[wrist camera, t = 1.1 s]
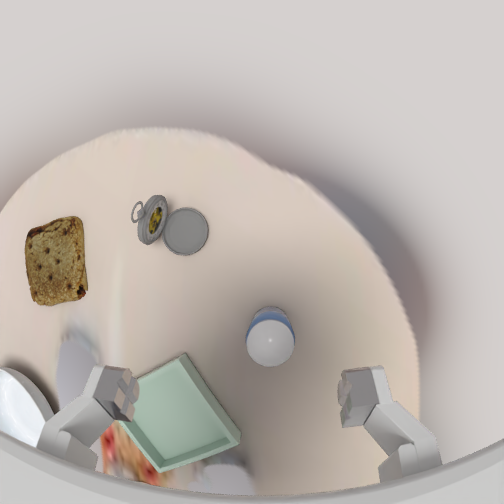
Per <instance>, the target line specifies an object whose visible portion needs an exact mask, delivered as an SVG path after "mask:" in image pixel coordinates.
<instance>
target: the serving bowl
mask: <svg viewBox="0 0 504 504" xmlns="http://www.w3.org/2000/svg"><path fill="white" fill-rule="evenodd" d="M53 416H54V413H53V411H52V409H51V407H50V405H49V403H48V402H47V400H46V398H45V397H44V395H43V394H42V393H41V391H40V390H39V389H38V388H37V386H36V385H35V384H34V383H33V382H32V381H31V380H30V379H28V378H27V377H26V376H24V375H23V374H22V373H20V372H18V371H16V370H14V369H11V368H7V367H0V430H1V431H3V432H5V433H7V434H9V435H10V436H12V437H14V438H16V439H18V440H20V441H22V442H24V443H26V444H28V445H31V446H33V447H35V448H36V446H37V443H38V440H39V437H40V434H41V432H42V429H43V426H44V424H45V423H46V422H47V421H48V420H49V419H51V418H52V417H53Z"/></svg>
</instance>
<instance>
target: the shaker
mask: <svg viewBox="0 0 504 504" xmlns="http://www.w3.org/2000/svg"><path fill="white" fill-rule="evenodd" d="M294 345H295V336H294V332H293V330H292V327H291V325H290V322H289V320H288V317H287V315H286V314H285V313H284V312H283V311H282V310H281V309H279V308H277V307H265V308H262V309H260V310H259V311H258V312H257V313H256V314H255V316H254V318H253V320H252V322H251V325H250V327H249V330H248V332H247V335H246V346H247V351H248V353H249V355H250V357H251V358H252V359H253V360H254V361H255V362H256V363H258V364H260V365H262V366H267V367H274V366H278V365H280V364H282V363H284V362H285V361H287V360H288V359H289V357H290V356H291V354H292V352H293V349H294Z"/></svg>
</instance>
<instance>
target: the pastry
mask: <svg viewBox="0 0 504 504" xmlns="http://www.w3.org/2000/svg"><path fill="white" fill-rule="evenodd" d="M84 258H85V253H84V232H83V224H82V221H81V220H80V219H79V218H78V217H75V216H69V217H65V218H59V219H56V220H53V221H51V222H50V223H48V224H46V225H43V226H39V227H36V228H32V229H31V230H30V231H29V232H28V235H27V239H26V243H25V260H26V269H27V271H26V272H27V277H28V281H29V285H30V286H31V287H30V290H31V296H32V299H33V301H34V302H35V301H36V302H37V303H38V304H39V305H44V304H45V305H46V306H53V305H55V304H58V303H61V302H67V301H76V300H79V299H80V298H82V297H84V296H85V294H86V292H85V290H88V285H87V276H86V269H85V259H84Z"/></svg>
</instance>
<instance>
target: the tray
mask: <svg viewBox="0 0 504 504" xmlns="http://www.w3.org/2000/svg"><path fill="white" fill-rule="evenodd" d="M136 380H137V381H138V383H139V387H140V393H139V398H138V400H137V401H136V402H135V403H134V404H133V405H134V407H135V412H134V416H133V420H132V422H126V421H120V420H118V421H119V423H120V424H121V425H122V427H123V428H124V430H125V431H126V432H127V434H128V435H129V436H130V438H131V439H132V440H133V442H134V443H135V444H136V446H137V447H138V448H139V449H140V451H141V452H142V453H143V454H144V456H145V457H146V458H147V459H148V461H149V462H150V463H151V464H152V465H153V466H154V468H155V469H156V470H157V471H158V472H159V473H161V472H165V471H168V470H171V469H174V468H178V467H181V466H184V465H187V464H190V463H193V462H195V461H198V460H201V459H204V458H207V457H209V456H212V455H214V454H217V453H220V452H222V451H225V450H227V449H230V448H232V447H234V446H237V445H239V443H240V438H241V432H240V431H239V429H238V428H237V427H236V425H235V424H234V423H233V421H232V420H231V419H230V417H229V416H228V415H227V413H226V412H225V411H224V409H223V408H222V406H221V405H220V404H219V402H218V401H217V399H216V398H215V397H214V395H213V394H212V392H211V391H210V389H209V388H208V386H207V385H206V383H205V382H204V381H203V379H202V378H201V376H200V375H199V373H198V372H197V370H196V369H195V367H194V365H193V364H192V362H191V361H190V359H189V358H188V356H187V355H186V353H184V354H182V355H181V356H179V357H177V358H175V359H173V360H172V361H170V362H168V363H166V364H164V365H162V366H160V367H159V368H157V369H155V370H153V371H151V372H149V373H147V374H145V375H143V376H141V377H140V378H138V379H136Z"/></svg>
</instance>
